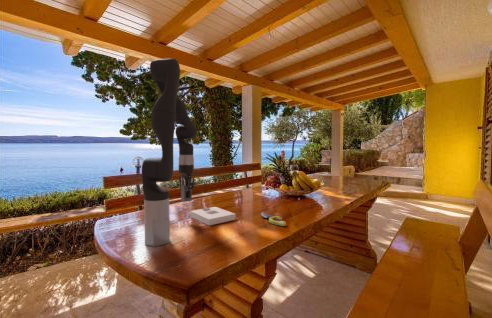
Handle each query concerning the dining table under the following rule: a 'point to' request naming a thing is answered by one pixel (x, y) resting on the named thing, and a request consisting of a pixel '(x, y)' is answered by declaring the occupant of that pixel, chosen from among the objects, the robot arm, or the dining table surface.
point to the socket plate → (212, 215)
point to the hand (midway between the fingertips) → (186, 197)
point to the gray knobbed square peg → (183, 194)
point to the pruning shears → (274, 219)
